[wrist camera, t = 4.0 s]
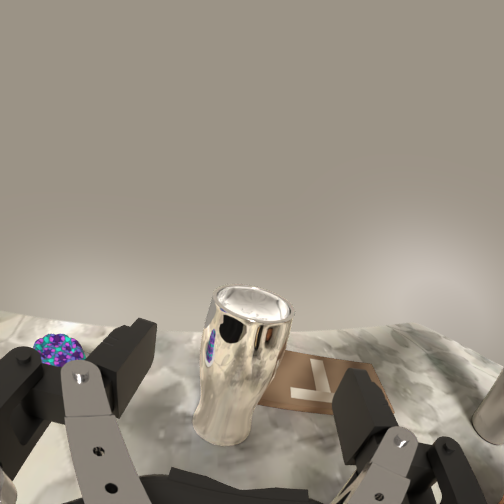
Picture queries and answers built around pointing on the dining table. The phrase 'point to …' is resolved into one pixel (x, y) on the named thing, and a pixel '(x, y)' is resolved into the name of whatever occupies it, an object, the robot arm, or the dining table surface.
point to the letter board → (310, 382)
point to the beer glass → (239, 359)
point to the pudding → (59, 349)
